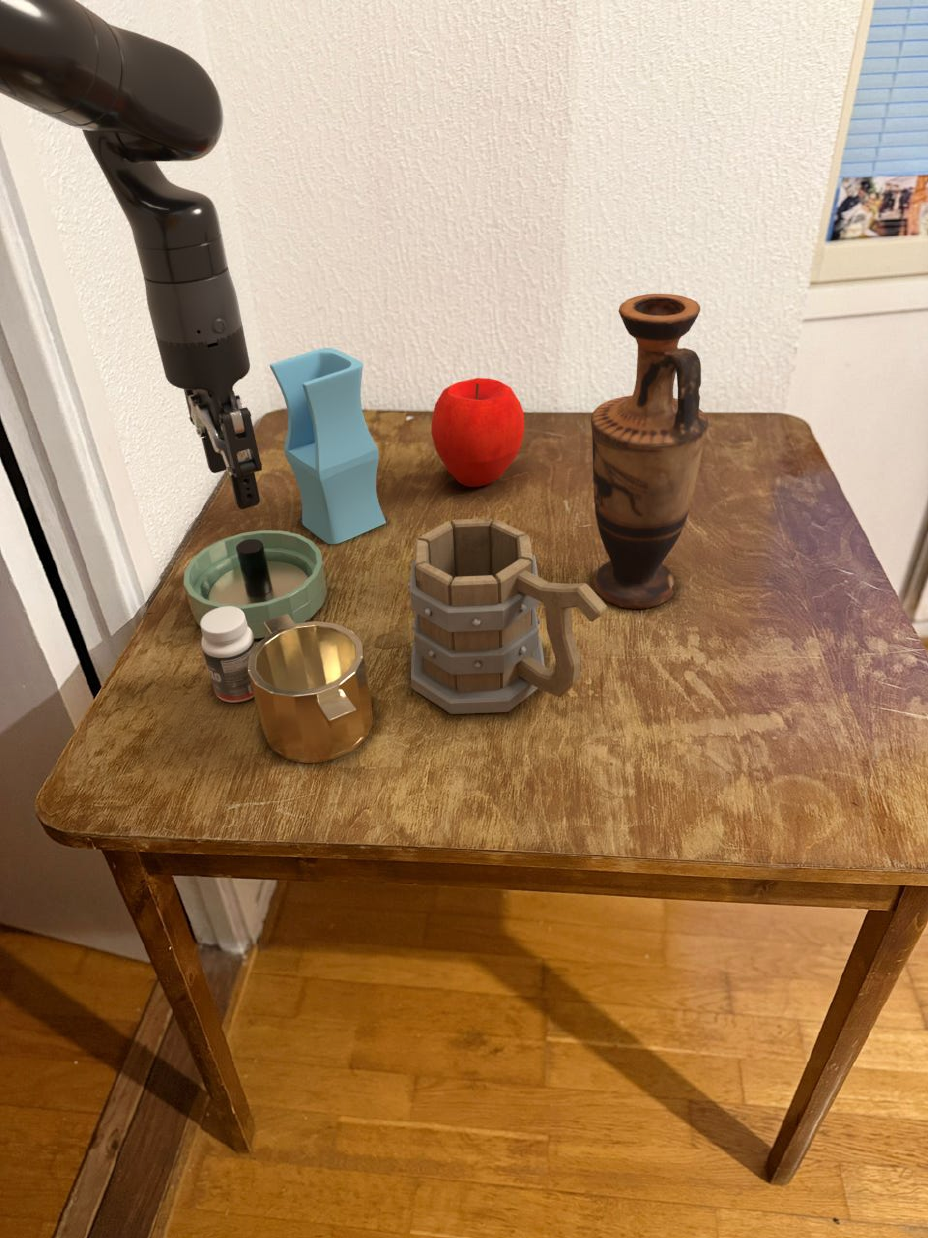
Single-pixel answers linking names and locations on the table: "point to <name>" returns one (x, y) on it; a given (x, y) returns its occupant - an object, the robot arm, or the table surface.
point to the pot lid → (255, 578)
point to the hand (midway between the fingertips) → (234, 487)
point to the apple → (477, 430)
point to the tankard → (489, 619)
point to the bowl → (276, 548)
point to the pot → (311, 689)
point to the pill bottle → (228, 652)
